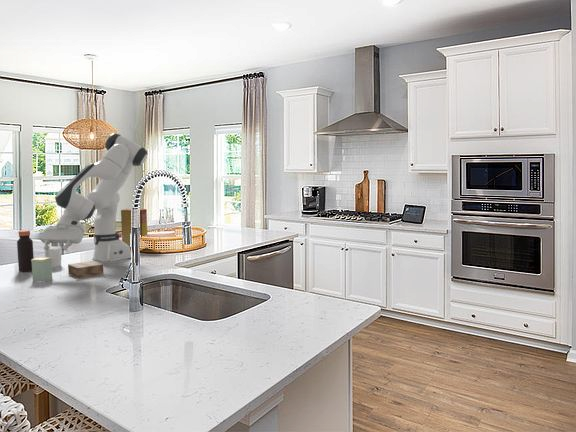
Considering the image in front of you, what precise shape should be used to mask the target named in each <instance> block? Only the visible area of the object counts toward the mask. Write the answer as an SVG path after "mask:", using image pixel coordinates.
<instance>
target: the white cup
mask: <svg viewBox="0 0 576 432" xmlns="http://www.w3.org/2000/svg"><path fill="white" fill-rule="evenodd" d="M49 247H50V248H49V250H45V249H44V248H43V250H44V257H51V258H52V259H51V264H52V269H55V267H56V268H60V267H61V266H62V246H59V245H57V246H52V245H51V246H49Z"/></svg>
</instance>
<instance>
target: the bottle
mask: <svg viewBox="0 0 576 432" xmlns="http://www.w3.org/2000/svg"><path fill="white" fill-rule="evenodd" d="M30 236H31V231H30V230H29V229H26V230H24V229H22V230H18V237H19V238H18V239H17V241H16V248H17V264H18V266H17V267H18V271H20V272H19V273H29V271H30V272H32V261H31V259H35V258H34V244H33V243H34V242H33V239H32V238H30Z"/></svg>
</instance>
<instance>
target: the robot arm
mask: <svg viewBox="0 0 576 432" xmlns="http://www.w3.org/2000/svg"><path fill="white" fill-rule="evenodd" d="M104 146H105V148H106V150H107V151H106V152H105V153H104V155H103V156H102V158H101V159H100V160H99V161H97V162H95V163H94V162H91V163H89V164H87V165H86V166H85V167H83V169H82V170H80V171H79V172H78V174H76V175H75V176H74V177H73V178H72V179H71V180H70V181H69V182H68V183H67V184H66V185H64V187H62V188H60V189H59V191H57V193H56V194H55V197H54V199H55V203H56V205H57V206H59V207H60V208H62V209H64V210H63V213H62V215H61V216H60V217H59V220H58V221H57V223H56V225H49V226H48V227H46V228H45V229H44V230H43V231H42V232H41V234H40V236H39V240H40V241H41V242H42V243H43V244H44V246H43V250H44V249H45V250H49V248H50V247H51V246H49V245H50V244H63V246H61V250H63V251H68V249H69V248H70V247H71V246H72V245H73V244H80V243H81V242H82V240H83V238H84V235H85V232H86V228H85V227H84V225H83V224H82V223H81V222H80V221H86V220H90V219H91V217H93V215H94V213H95V211H96V215H95V218H94V220H93V223H94V225H93V226H94V229H93V231H94V234H93V245H94V251H93V257H92V261H95V262H97V261H99V262H102V261H103V262H104V261H105V262H106V261H107V262H114V261H120V260H127V259H130V258H131V253H132V250H130V247H129V245H127V244H126V243H124V242H123V241H122V233H117V229H116V225H117V224H116V219H117V217H116V216H117V212H118V211H117V210H118V206H119V205H118V204H119V202H120V200H121V197H120V194H119V192H118V191H120V190H121V188H122V187H123V186H124V185H125V184H126V181H127V180H128V177H129V176H130V174H131V172H132V169H134V168H133V167H139V166H142V165H143V164H144V163H145V162H146V161H147V159H148V150H147V149H146V148H145V147H142V146H141V145H140V144H139V143H137V142H135V141H134V140H131V139H129V138H127V137H125V136H123V135H121V133H116V132H114V133H111V134H110V135H109V136H108V137H107V138H106V140H105V144H104ZM88 178H96V179H100V181H99V182H98V183H97V184H96V186H94V188H93V189H92V190H91V191H90V192H89V193H88V194H87V196H84V195H83V194H82V193H79V192H78V191H77V189H78V187H80V186H81V184H84V183H83V182H85V180H87V179H88ZM120 238H121V239H120ZM64 244H65V245H64Z"/></svg>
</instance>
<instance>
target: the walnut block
mask: <svg viewBox="0 0 576 432" xmlns="http://www.w3.org/2000/svg"><path fill="white" fill-rule="evenodd" d="M67 269H68V272H67V273H68V275H70V276H72V277H74V278H77V279H80V278H87V277H93V276H98V275H99V276H100V275H104V272H105V271H104V264H103V263H100V262H97V261H96V260H91V261H90V260H89V261H83V262H82V261H81V262H76V263H69V264H67Z"/></svg>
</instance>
